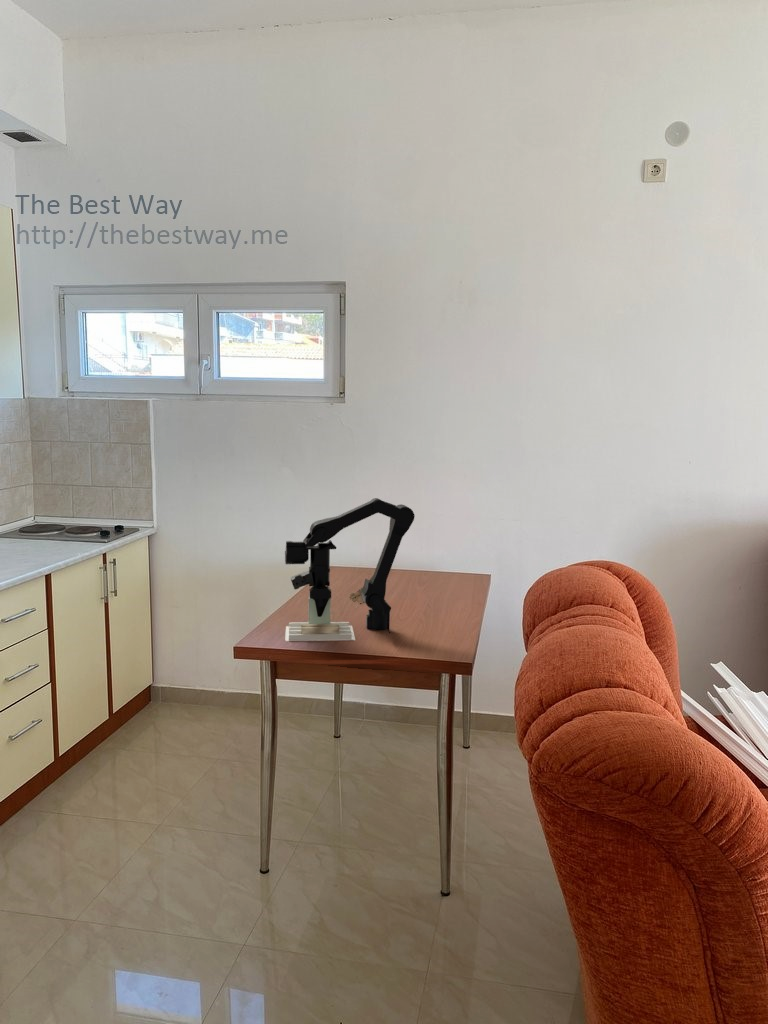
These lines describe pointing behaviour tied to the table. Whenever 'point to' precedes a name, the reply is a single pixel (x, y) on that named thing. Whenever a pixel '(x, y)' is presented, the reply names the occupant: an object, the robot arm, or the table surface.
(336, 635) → the slot rack
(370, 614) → the robot arm
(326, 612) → the sage green block
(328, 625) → the offcut bundle
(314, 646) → the table surface
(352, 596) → the wooden fragment
